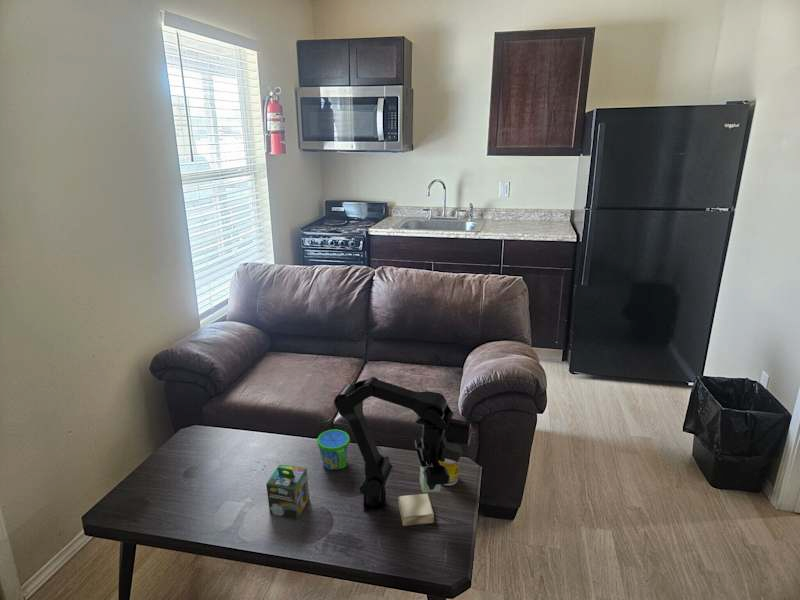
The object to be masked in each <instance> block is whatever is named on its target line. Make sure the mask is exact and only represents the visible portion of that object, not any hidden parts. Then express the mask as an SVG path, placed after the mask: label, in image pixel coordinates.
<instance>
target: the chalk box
mask: <svg viewBox="0 0 800 600" xmlns="http://www.w3.org/2000/svg"><path fill="white" fill-rule="evenodd" d="M265 484H266V492H267V493H266V494H267V501H268V502H267V503H268V508H269V509H268V510H269V515H272V516H277V517H283V518H286V519H293V520H298V519H299V517H300V515H301V514H302V512H303V511H304V509H305V507H306V506H307V504H308V502H309V500H310V492H309V490H310V489H309V481H308V471H307V467H301V466H295V465H293V466H292V465H287V464H279V465H278V467H277V468H276V469H275V470H274V471H273V473H272V474H271V477H269V479H268V480H267V482H266V483H265Z"/></svg>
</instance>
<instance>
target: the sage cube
mask: <svg viewBox="0 0 800 600" xmlns="http://www.w3.org/2000/svg"><path fill="white" fill-rule="evenodd" d="M428 467H431V466H422V465H421V466H420V467H419V469H420V470H419V483H420V484H419V485H420V488H421V491H422V494H426V493H432V492H433V493H435V492H441V487H442V486H441V485H442V484H439V485H436V486H435V488H434V489H433V490H430V489H429V486H428V484H427V483H426V480H425V478H424V474H423V471H425V469H427V468H428Z"/></svg>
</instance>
